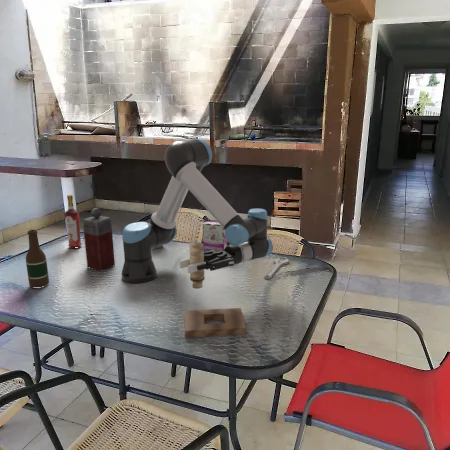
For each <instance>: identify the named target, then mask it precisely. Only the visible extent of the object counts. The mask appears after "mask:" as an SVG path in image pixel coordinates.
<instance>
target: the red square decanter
mask: <svg viewBox="0 0 450 450" xmlns="http://www.w3.org/2000/svg"><path fill="white" fill-rule="evenodd" d="M90 214H91V216H90V217H86V218H84V219H82V227H83V237H84V246H85V247H84V248H85V254H86V255H85V257H86V265H87V268H88V267H90V268H93V269H92V270H94V269H96V270H95V271H98V270H100V271H99V272H102V271H101V270H103V271H105V270H107V269H109V268H108V267H110V268H111V266H112V267H114V266H116V263H115V262H116V261H115V251H114V240H113V237H114V236H113V226H112V225H113V224H112V219H111V217H109V216H104V215H102V210H101V208H99V207H93V208H92V209H91V211H90ZM113 265H114V266H113ZM90 268H89V269H90ZM106 268H107V269H106ZM104 269H105V270H104Z"/></svg>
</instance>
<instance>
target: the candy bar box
mask: <svg viewBox="0 0 450 450" xmlns="http://www.w3.org/2000/svg"><path fill="white" fill-rule="evenodd" d="M202 243H203V244H204V252H206V251H210V250H212V249H215V252H218V251H224V249H225V247H226V246H228V241H227V240H226V237H225V229H224V228H223V227H222V226H221V225H220V224H219V223H218V222H217V221H205V222H203V223H202Z"/></svg>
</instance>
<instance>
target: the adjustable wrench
mask: <svg viewBox="0 0 450 450" xmlns="http://www.w3.org/2000/svg"><path fill="white" fill-rule="evenodd" d="M289 262H290V261H289V259H288V258H285V259H284V260H281V259H280V258H279V257H277V258H275V259H274V260H273V264H274V265H273V266H272V267H271V268H270V269H269V270H268V272H267V273H266V274H264V276H263V278H264V280H266V281H267V280H270V279H272V277H273V276H274V275H275V274H276V273H277V272H278V270H279V269H280V268H281V267H283V266H285V264H286V265H288V264H289Z"/></svg>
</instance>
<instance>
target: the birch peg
mask: <svg viewBox="0 0 450 450" xmlns="http://www.w3.org/2000/svg"><path fill="white" fill-rule="evenodd" d="M188 246H189V258H190V265H192V264H196V263H199V262H204V244H203V242H195V241H194V242H191V243H189V245H188ZM189 275H190V276H189V280H190V281H191V282H192V283H191V284H192V288H193V289H201V288H203V281H205V269H204V270H200V271H196V272H193V273H189Z"/></svg>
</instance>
